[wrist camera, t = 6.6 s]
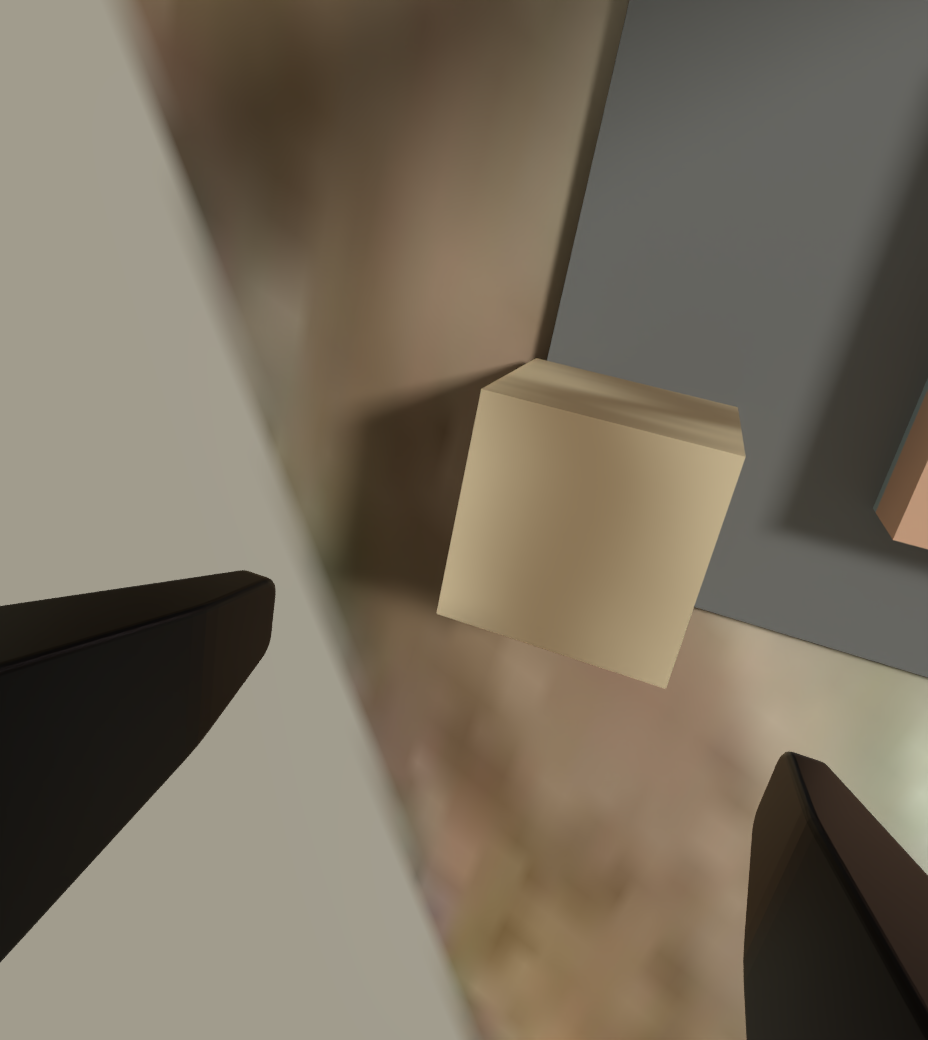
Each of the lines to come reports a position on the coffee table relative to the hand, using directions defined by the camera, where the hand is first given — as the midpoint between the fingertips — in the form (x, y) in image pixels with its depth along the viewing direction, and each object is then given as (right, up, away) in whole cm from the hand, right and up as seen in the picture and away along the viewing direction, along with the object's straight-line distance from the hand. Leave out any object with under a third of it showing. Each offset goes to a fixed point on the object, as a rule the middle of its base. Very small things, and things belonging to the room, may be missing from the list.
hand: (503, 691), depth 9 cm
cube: (+3, +3, +9) cm, 10 cm away
